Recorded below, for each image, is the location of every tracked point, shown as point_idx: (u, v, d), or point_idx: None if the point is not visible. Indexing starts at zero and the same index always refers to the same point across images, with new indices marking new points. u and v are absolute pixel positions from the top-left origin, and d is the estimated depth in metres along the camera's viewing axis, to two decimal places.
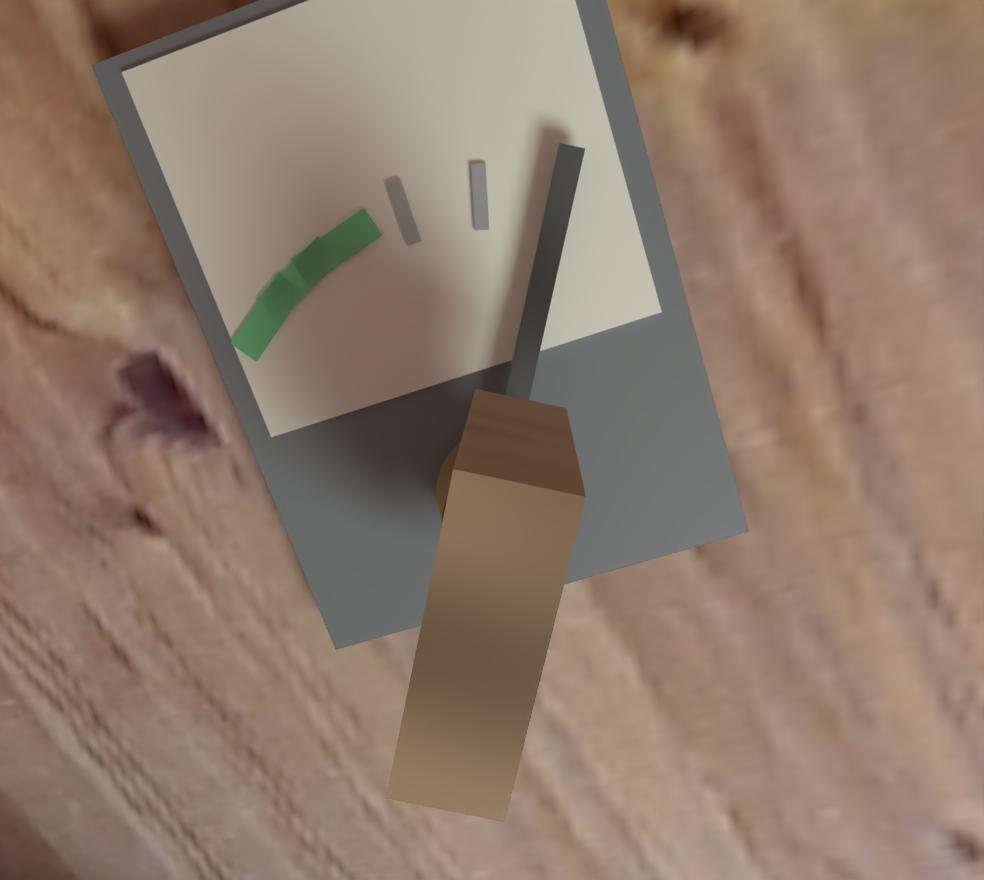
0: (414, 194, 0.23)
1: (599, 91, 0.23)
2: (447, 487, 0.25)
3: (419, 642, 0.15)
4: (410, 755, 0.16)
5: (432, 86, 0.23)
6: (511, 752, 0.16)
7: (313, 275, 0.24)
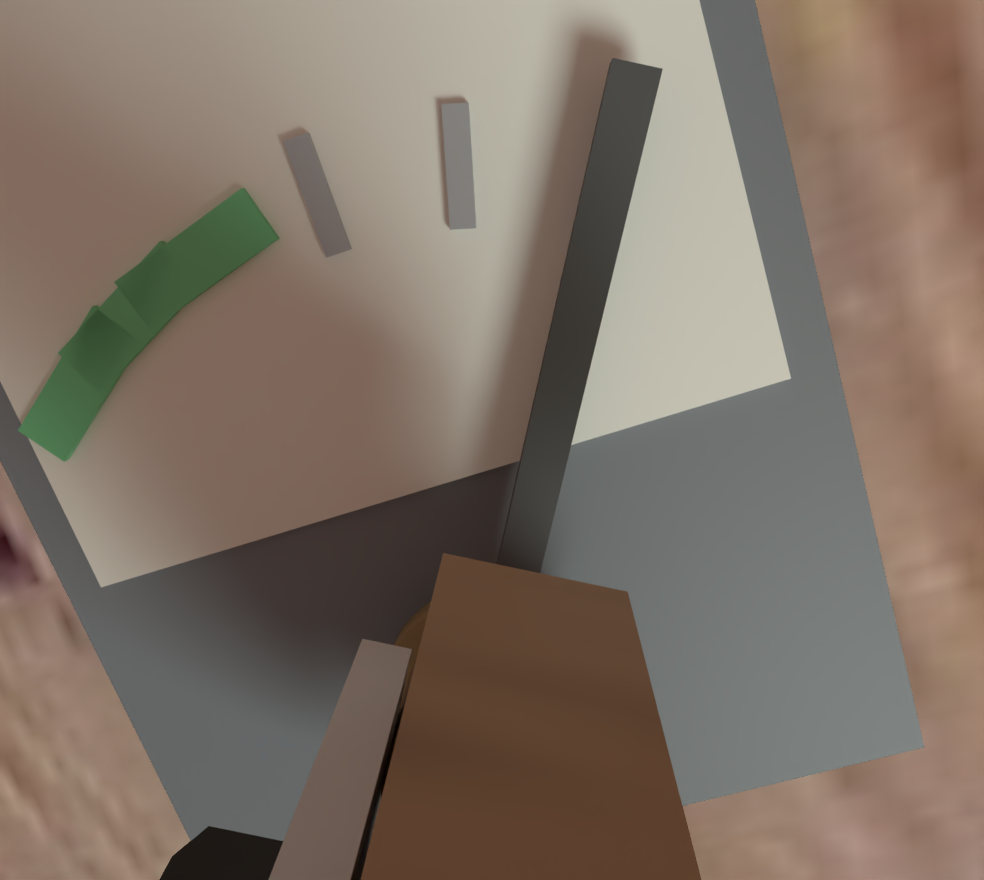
0: (336, 162, 0.13)
1: None
2: None
3: None
4: None
5: None
6: None
7: (158, 312, 0.13)
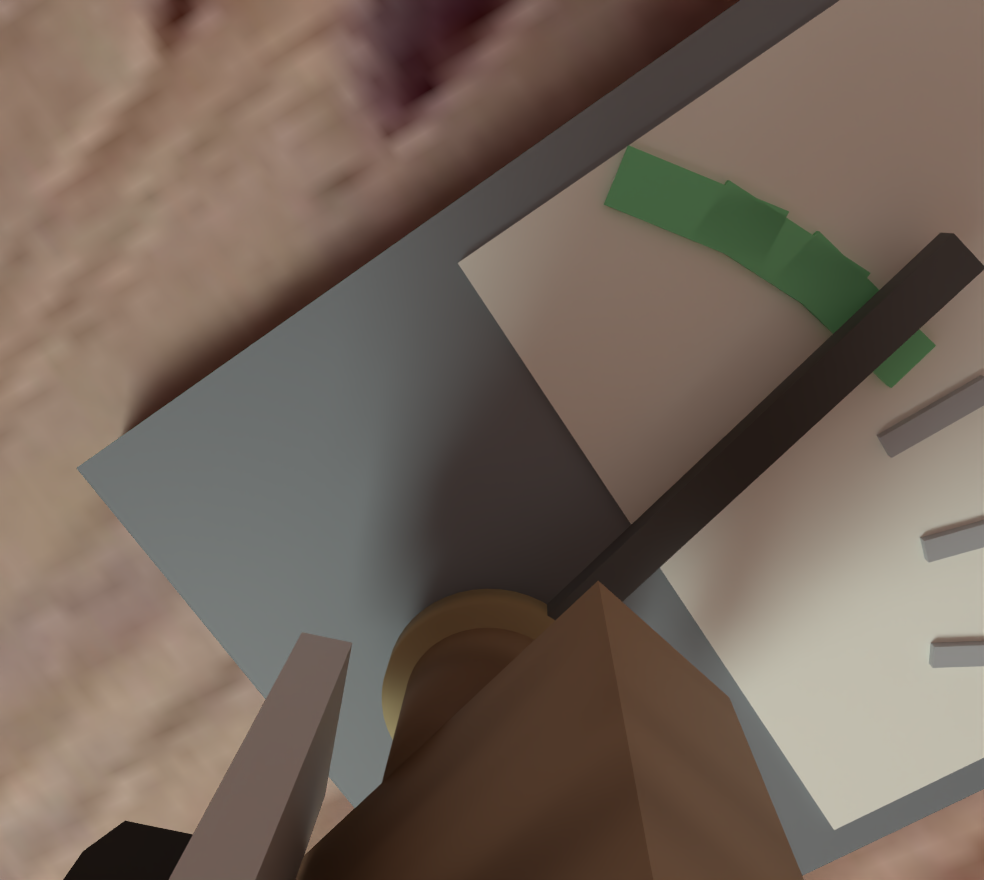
0: (968, 426, 0.13)
1: None
2: (419, 654, 0.14)
3: None
4: None
5: None
6: None
7: (791, 278, 0.13)
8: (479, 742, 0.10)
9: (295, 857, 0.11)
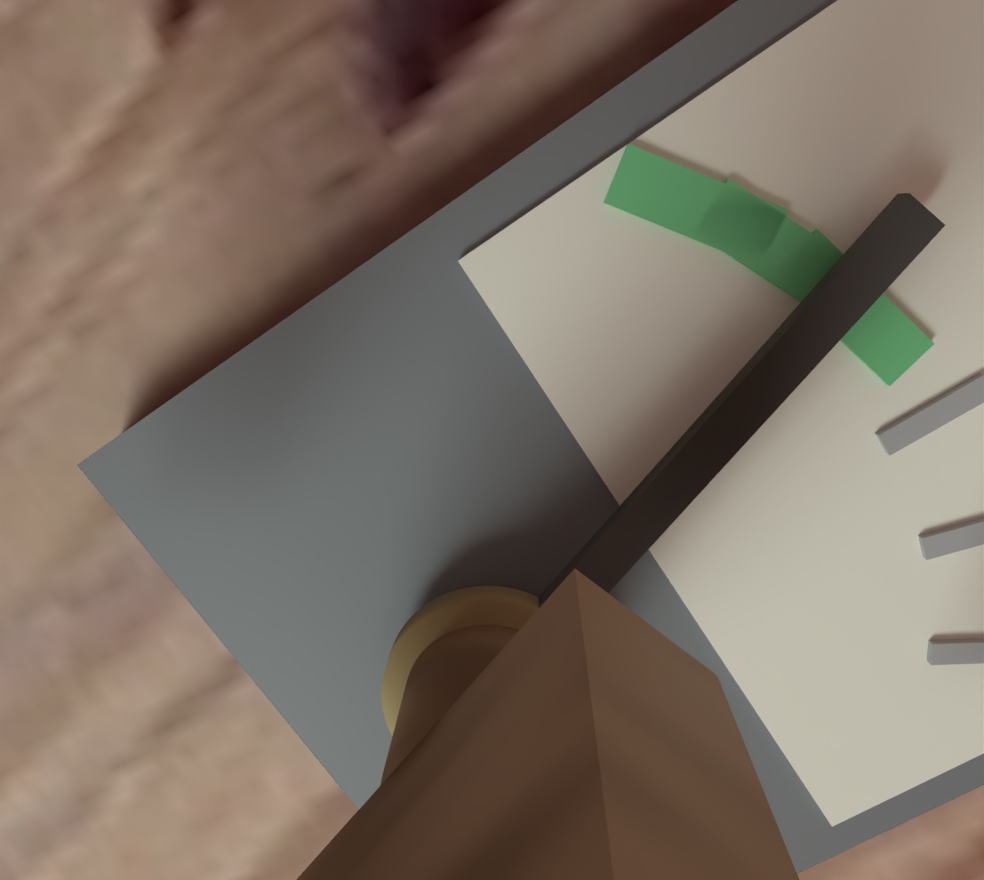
0: (966, 424, 0.13)
1: None
2: (414, 655, 0.14)
3: None
4: None
5: None
6: None
7: (789, 276, 0.13)
8: (465, 738, 0.10)
9: None
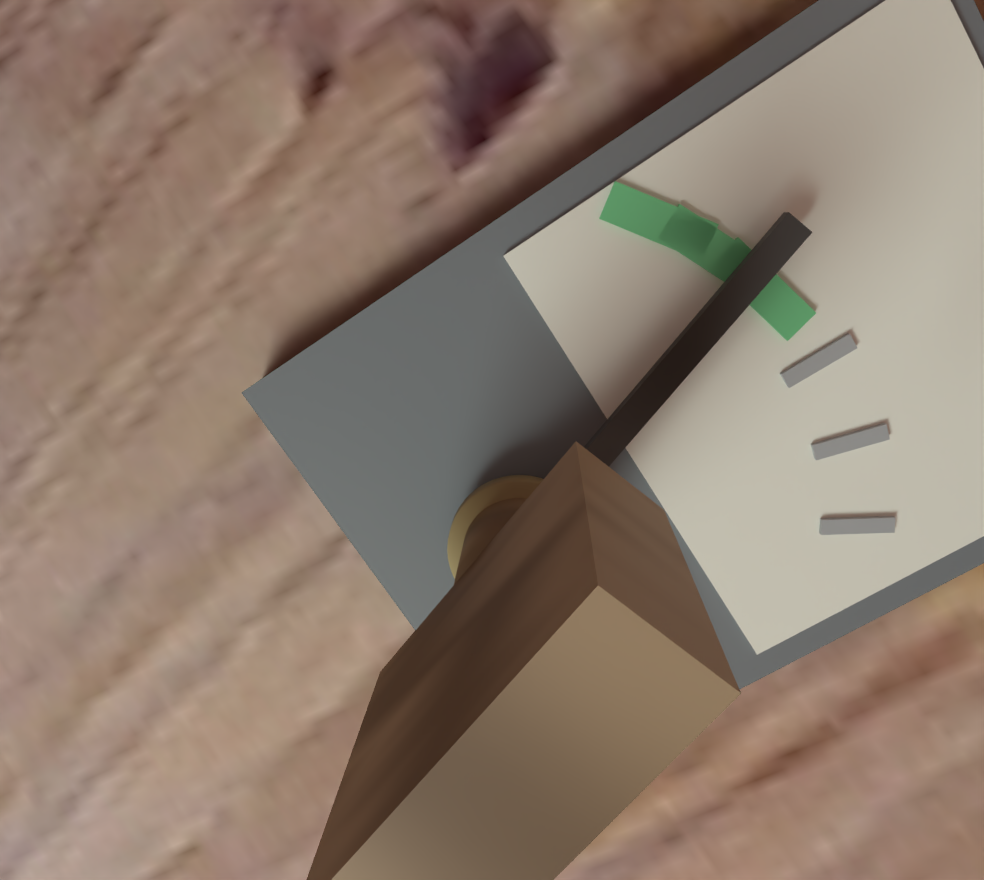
0: (840, 367, 0.20)
1: (981, 536, 0.21)
2: (470, 520, 0.20)
3: (436, 767, 0.11)
4: None
5: (961, 357, 0.20)
6: None
7: (721, 267, 0.20)
8: (510, 536, 0.17)
9: None
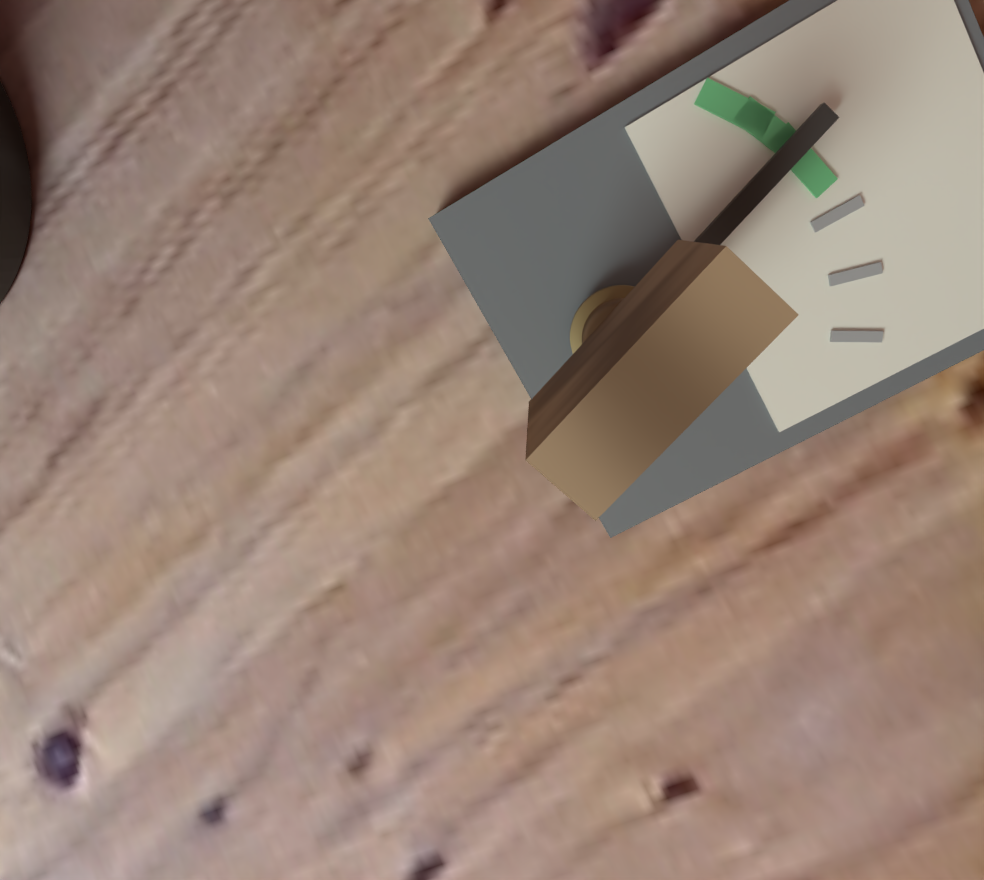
0: (851, 219, 0.29)
1: (941, 349, 0.30)
2: (589, 312, 0.29)
3: (624, 357, 0.20)
4: (563, 437, 0.21)
5: (935, 218, 0.29)
6: (633, 471, 0.21)
7: (774, 143, 0.28)
8: (634, 294, 0.25)
9: None
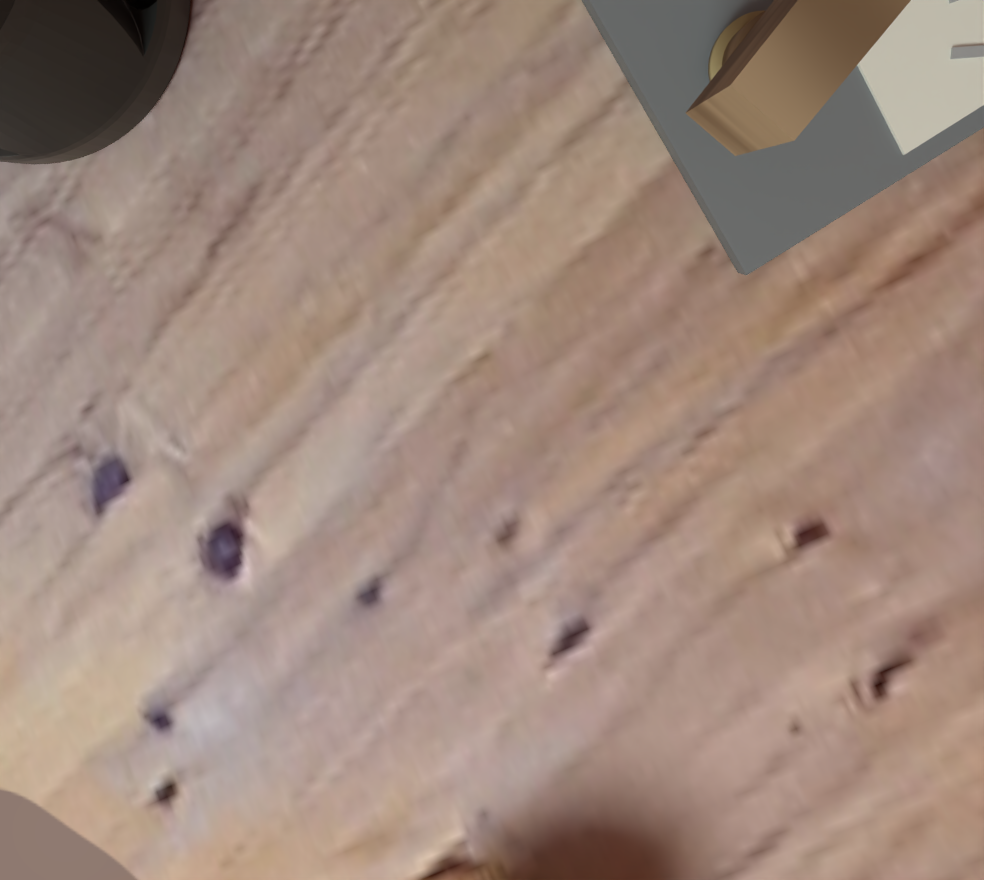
0: None
1: None
2: (728, 39, 0.31)
3: None
4: (765, 58, 0.23)
5: None
6: (829, 87, 0.23)
7: None
8: None
9: None
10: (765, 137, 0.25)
